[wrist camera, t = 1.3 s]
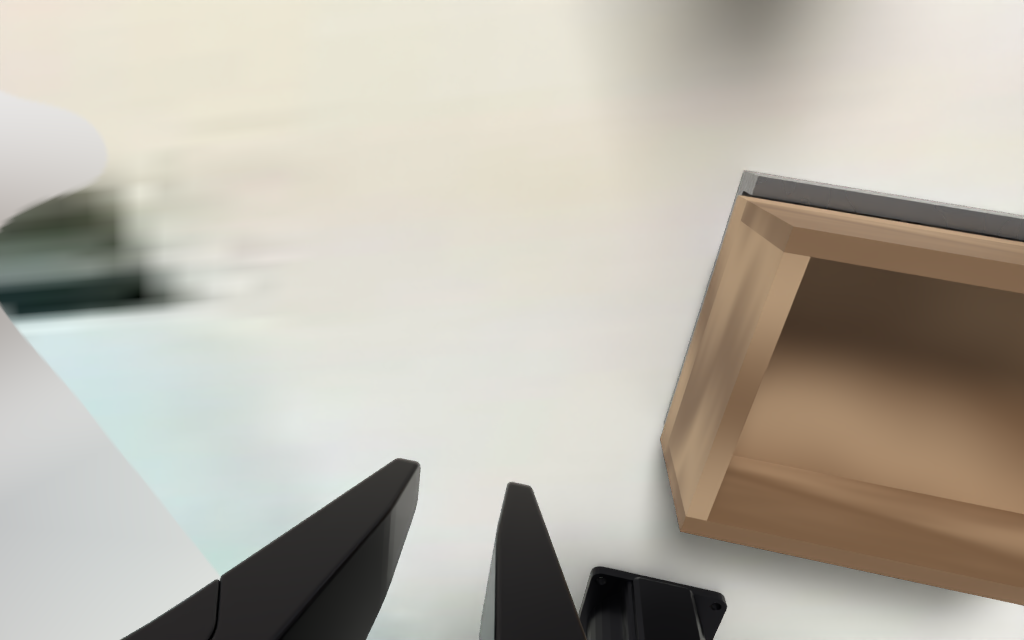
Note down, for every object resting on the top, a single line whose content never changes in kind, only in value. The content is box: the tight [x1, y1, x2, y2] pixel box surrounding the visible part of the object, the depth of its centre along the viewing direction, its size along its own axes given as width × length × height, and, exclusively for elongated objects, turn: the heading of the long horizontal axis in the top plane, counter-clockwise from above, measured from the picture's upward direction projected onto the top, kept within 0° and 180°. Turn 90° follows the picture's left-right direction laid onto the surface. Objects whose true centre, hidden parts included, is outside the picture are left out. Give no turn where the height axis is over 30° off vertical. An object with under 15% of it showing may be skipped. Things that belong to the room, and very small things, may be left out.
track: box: [664, 170, 1024, 425], centre depth 18 cm, size 10×21×2 cm, turn 81°
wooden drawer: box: [660, 195, 1024, 605], centre depth 15 cm, size 9×13×6 cm
